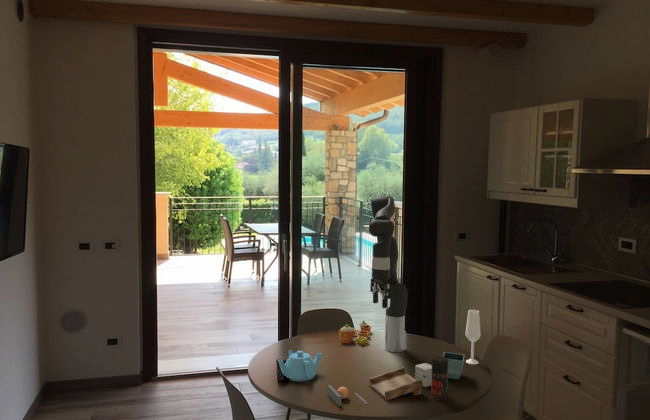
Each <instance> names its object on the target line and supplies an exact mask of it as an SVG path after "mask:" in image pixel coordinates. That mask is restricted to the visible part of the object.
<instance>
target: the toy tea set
mask: <svg viewBox="0 0 650 420" xmlns="http://www.w3.org/2000/svg"><path fill="white" fill-rule="evenodd" d="M358 326H359V327H360V330H359V331H358V334H357V333H356V332H357V329H356V328H355V327H351V326H349V324H347V323H346V324H345V325H344V326H343V327H341V328H340V329H339V331H338V332H339V333H338V336H339V339H340V343H343V344H351V343H353V340H354V337H356V341H355V342H354V344H355V345H356V346H359V345H365V346H368V345H369V343H370V340H369V337H370V334H371V329H372V326H371V325H370V324H368V323H366V321H365V320H362V322H360V323H359V324H358ZM355 334H356V335H355ZM353 336H354V337H353ZM356 342H357V344H356ZM366 342H367V343H366ZM367 344H368V345H367Z"/></svg>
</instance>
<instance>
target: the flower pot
mask: <svg viewBox="0 0 650 420" xmlns="http://www.w3.org/2000/svg"><path fill="white" fill-rule="evenodd" d="M442 356H443V357H446V358H448V377H447V379H452V380H460V377H461V375H462V374H463V368H464V362H465V354H463V353H455V352H448V351H447V352H446V351H444V352H443V354H442Z"/></svg>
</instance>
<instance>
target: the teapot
mask: <svg viewBox="0 0 650 420" xmlns="http://www.w3.org/2000/svg"><path fill="white" fill-rule="evenodd" d="M287 351H288V352H287V353H288V358H287V359H286V362H284V361H283V360H282V359H278V360H277V363H278V365H279V368H280V370H281V372H282V374H283V376H284V377H285V376H286V377H287V378H289V379H290V380H289V379H288V380H289V381H292V382H306V381H311V380H312V379H313V378H315V376H316V375H317V370H318V368H319V364H320V360H321V358H322V353H321V352H317V354H316V355H315V356H314V359H313V357H312V356H311V355H310V354H309V353H307V352H304V350H297V351H296V352H293V350H291V349H289V350H287ZM286 377H285V378H286ZM287 378H286V379H287Z"/></svg>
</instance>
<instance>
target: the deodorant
mask: <svg viewBox="0 0 650 420" xmlns="http://www.w3.org/2000/svg"><path fill="white" fill-rule="evenodd" d="M431 358H432V359H431V365H432V380H431V385H430V386H431V389H430V390H431V391H430V397H431V398H432V399H434V400H438V401H444V400H446V399H447V398H448V378H447V377H448V358H446V357H443V355H435V356H432V357H431Z"/></svg>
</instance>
